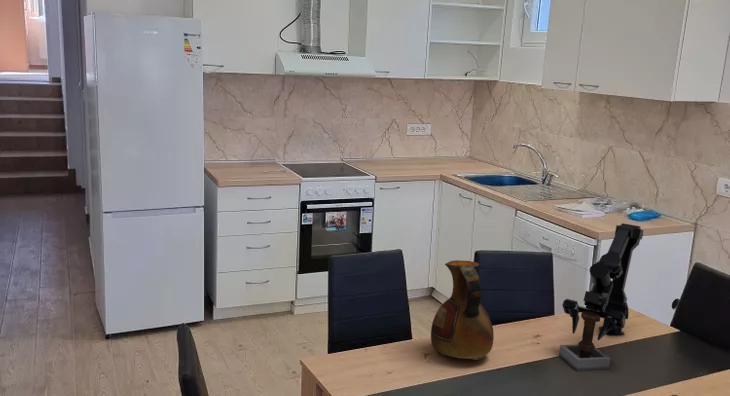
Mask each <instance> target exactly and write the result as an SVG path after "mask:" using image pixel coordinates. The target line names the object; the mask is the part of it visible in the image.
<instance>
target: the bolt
mask: <svg viewBox="0 0 730 396" xmlns="http://www.w3.org/2000/svg"><path fill="white" fill-rule="evenodd" d="M580 317H581V319H582V320H583V331H582V336H581V340H580V341H578V343H577V344H578V347H579V348H580V358H590V354H591V351H593V350H594V348H595V347H596V346H595V344H594V343H593V339H594V336H595V335H594V334H595V327H596V324H597V323H599V322H601V318H600V316H599V315H598V314H596V313H594V312H583V313H581V312H580Z"/></svg>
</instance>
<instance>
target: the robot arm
mask: <svg viewBox="0 0 730 396" xmlns="http://www.w3.org/2000/svg"><path fill="white" fill-rule="evenodd" d="M641 228H642V227H641V226H640V225H634V224H628V223H624V222H623V223H621V224H620V225H618V224H616V225H615V231H614V237H613V239H612V242H611V244H610V246H609V249H608V251H607V253H604V254H603V255H601V256H600V259H599V260H598V261H597V262H596V263H593V264H592V265H591V266H590V267H589V275H590V279H591V283H592V287H591V290H590V291H589V290H586V291H584V296H583V297H584V298H583V303H584V306H585V307H584V306H581V305H579V304H578V301H577V300H574V299H569V298H566V299H564V300H563V302H562V308H563V311H564V314H567V315H568V316H569V317H570V318H572V321H571V323H572V326H571V327H572V329H571V330H572V334H573V335H574V334H575V333H576V332H577V327H578V324H579V321H580V315H579V314H581V313H583V312H594V313H596V314H598V315H599V316H600V319H603V322H602V325H601V326H598V329H599V333H598V335H597V338H596V339H597V341H598V342H599V341H601V339H602V338H603V337H605V335H606V334H607V336H617V335H618V336H619V335H621V336H623V335H625V332H624V331H623V330H622V329H625V328H624V327H625V325H626V320H629V315H630V313H629V306H628V305H629V304H628V302H627V301H628V297H627V294H626V292H625V288H626V283H627V279H628V278H627V277H628V275H629V270H630V264H631V260H632V256H633V251H634V250H635V249H636V248H637V247H638V246H639V245H640V242H641V240H642V239H643V237H644V230H643V229H641Z"/></svg>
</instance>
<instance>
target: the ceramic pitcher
mask: <svg viewBox="0 0 730 396" xmlns="http://www.w3.org/2000/svg"><path fill="white" fill-rule="evenodd" d="M444 265H445V266H446V267H447V268H448V270H449V271H450V274H451V278H452V292H451V295H450V297H449V298H448V299H447V300H445V301H444V302H443V303H442V304H441V305H440V307H438V309H437V311H436V313H435V315H434V317H433V320H432V324H431V330H430V341H431V346H432V347H433V349H434V350H436V352H438V353H439V354H442V355H444V356H448V357H452V358H457V359H465V360H466V359H467V360H473V361H477V360H480V359H483V358H485V357H486V356H487V355H488V354H490V352H491V351H492V348H493V345H494V336H495V335H494V328H493V324H492V321H491V318H490V315H489V313H488V312H487V311H486V309H485V307H484V306H483V305H482V304H481V299H482V288H481V286H482V285H481V281H480V276H479V274H478V273H477V270H476V269H477V268H478V267H479V266H480V264H479V263H478V262H477V261H472V260H471V261H470V260H459V259H457V260H450V261H448V262H446V263H445V264H444Z"/></svg>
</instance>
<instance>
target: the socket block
mask: <svg viewBox="0 0 730 396" xmlns="http://www.w3.org/2000/svg"><path fill="white" fill-rule="evenodd" d="M558 356H559V357H560V359H562V360H564V362H566V363H567V364H568V365H569V366H571V367H572V368H573V369H574V370H576V371H577V372H580V371H595V370H596V371H598V370H609V369H610V363H611V357H609V356H608V355H606V354H605V353H604V352H602V351H601V350H600V349H598V348H597V347H596V346H595V348H594V350H593V351H591V354H590V358H580V348H579V347H578V343H577V344H561V345H559V352H558Z"/></svg>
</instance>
